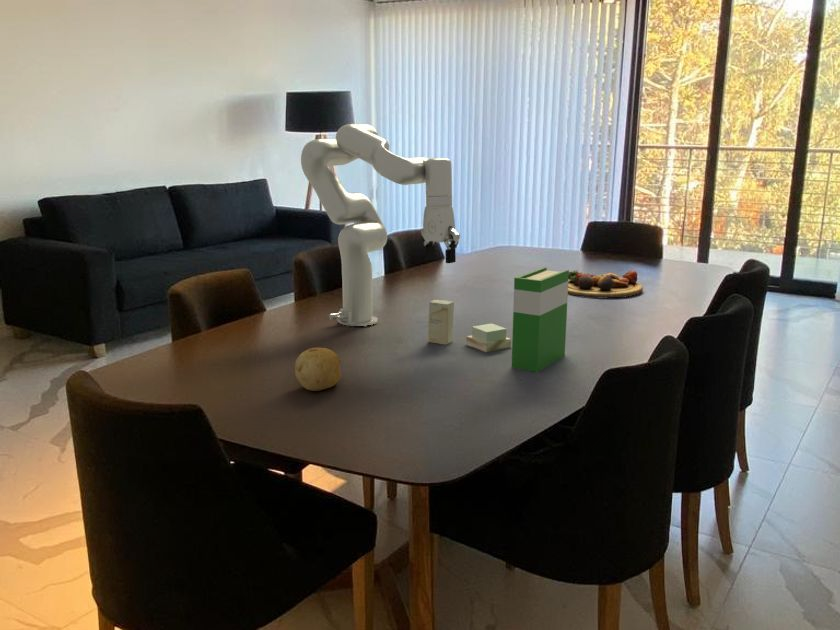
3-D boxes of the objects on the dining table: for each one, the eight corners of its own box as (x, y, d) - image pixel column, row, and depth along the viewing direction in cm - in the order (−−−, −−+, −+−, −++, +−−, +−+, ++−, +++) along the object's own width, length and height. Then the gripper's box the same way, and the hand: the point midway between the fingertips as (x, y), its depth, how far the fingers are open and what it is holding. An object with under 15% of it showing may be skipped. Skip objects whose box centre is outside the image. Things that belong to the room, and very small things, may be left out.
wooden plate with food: (635, 283, 312) (635, 262, 310) (649, 299, 281) (651, 277, 279) (554, 283, 315) (554, 262, 313) (560, 299, 284) (560, 277, 283)
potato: (351, 384, 191) (350, 345, 188) (317, 399, 181) (316, 358, 178) (319, 377, 196) (318, 339, 194) (285, 391, 186) (283, 351, 184)
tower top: (486, 342, 218) (486, 332, 217) (471, 336, 224) (472, 326, 223) (506, 338, 222) (506, 328, 221) (491, 333, 228) (491, 323, 227)
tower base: (485, 353, 218) (486, 343, 217) (466, 346, 225) (466, 336, 224) (510, 348, 223) (510, 338, 222) (490, 341, 230) (491, 331, 229)
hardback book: (540, 351, 219) (543, 267, 213) (564, 355, 215) (568, 270, 209) (511, 367, 204) (514, 277, 198) (537, 372, 200) (540, 280, 195)
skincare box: (427, 342, 227) (427, 301, 224) (434, 338, 231) (434, 298, 228) (447, 345, 224) (447, 304, 221) (453, 341, 228) (454, 301, 225)
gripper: (411, 201, 227) (412, 259, 231) (447, 204, 214) (448, 265, 218) (431, 199, 232) (432, 256, 236) (468, 202, 218) (469, 262, 222)
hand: (440, 260), depth 227 cm, fingers open, 9 cm apart
